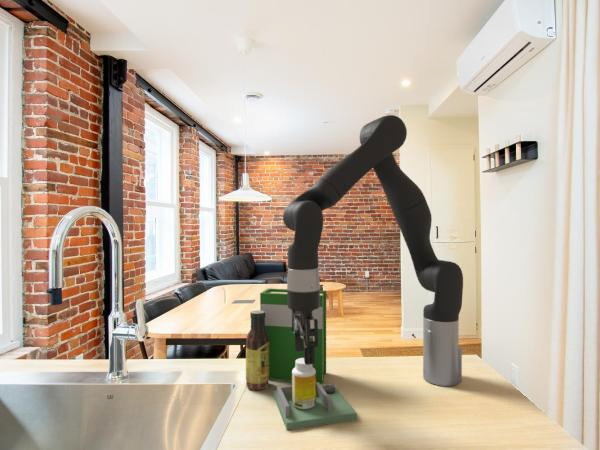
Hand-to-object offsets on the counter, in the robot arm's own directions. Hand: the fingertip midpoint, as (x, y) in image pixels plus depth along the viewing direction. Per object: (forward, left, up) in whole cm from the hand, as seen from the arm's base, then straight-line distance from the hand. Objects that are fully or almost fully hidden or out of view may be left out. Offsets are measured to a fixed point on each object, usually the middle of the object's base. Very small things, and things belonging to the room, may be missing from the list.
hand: (304, 356), depth 86 cm
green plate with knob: (-2, -1, -13) cm, 13 cm away
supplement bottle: (0, 0, -11) cm, 11 cm away
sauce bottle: (+9, -16, -13) cm, 22 cm away
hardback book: (-2, -20, -13) cm, 24 cm away
